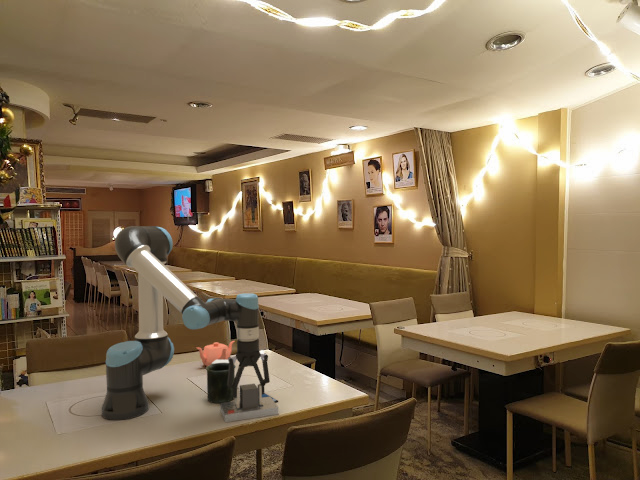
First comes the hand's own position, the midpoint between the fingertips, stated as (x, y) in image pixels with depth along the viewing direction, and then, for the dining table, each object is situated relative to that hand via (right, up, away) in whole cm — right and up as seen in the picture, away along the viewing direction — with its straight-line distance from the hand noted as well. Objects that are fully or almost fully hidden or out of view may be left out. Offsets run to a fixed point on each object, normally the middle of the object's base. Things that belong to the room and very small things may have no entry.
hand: (248, 405), depth 162 cm
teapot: (-23, -2, +56) cm, 60 cm away
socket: (0, -3, 0) cm, 3 cm away
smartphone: (+2, -3, +14) cm, 14 cm away
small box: (-14, -2, +27) cm, 30 cm away
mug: (-13, -3, +15) cm, 20 cm away
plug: (0, -3, 0) cm, 3 cm away
